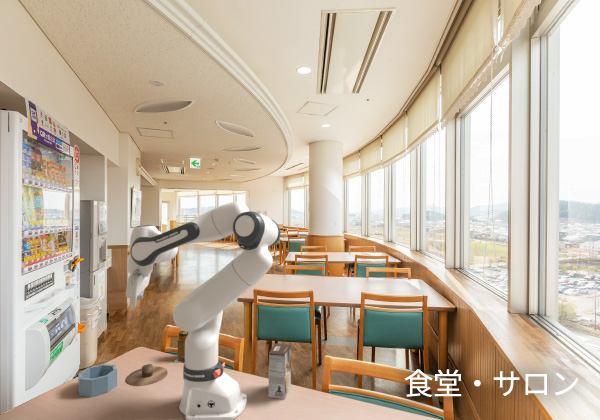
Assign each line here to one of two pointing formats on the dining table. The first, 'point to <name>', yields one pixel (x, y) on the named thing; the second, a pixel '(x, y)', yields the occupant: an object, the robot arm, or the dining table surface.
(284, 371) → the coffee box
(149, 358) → the dining table surface
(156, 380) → the lid
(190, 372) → the robot arm
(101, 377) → the bowl
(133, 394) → the dining table surface
